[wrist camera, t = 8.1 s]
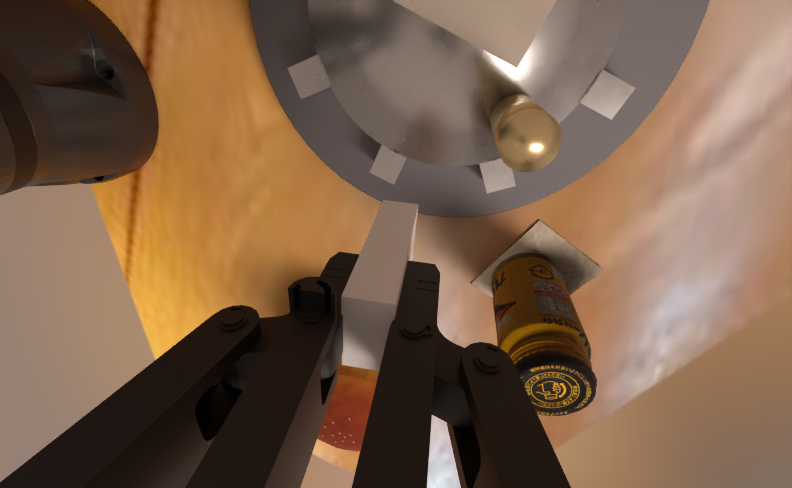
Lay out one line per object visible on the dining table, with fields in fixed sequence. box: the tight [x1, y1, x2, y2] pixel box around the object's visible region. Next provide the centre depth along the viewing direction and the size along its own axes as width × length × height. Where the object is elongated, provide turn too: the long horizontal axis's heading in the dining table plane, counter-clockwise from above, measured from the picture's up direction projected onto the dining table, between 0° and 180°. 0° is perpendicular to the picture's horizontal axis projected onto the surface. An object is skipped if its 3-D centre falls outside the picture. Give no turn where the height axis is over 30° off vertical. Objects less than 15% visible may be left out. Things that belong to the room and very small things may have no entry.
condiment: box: [471, 221, 604, 416], centre depth 27 cm, size 7×8×12 cm
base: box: [249, 0, 709, 217], centre depth 22 cm, size 28×28×4 cm
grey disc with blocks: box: [287, 0, 636, 193], centre depth 19 cm, size 22×22×8 cm
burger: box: [317, 356, 379, 451], centre depth 36 cm, size 13×14×10 cm
